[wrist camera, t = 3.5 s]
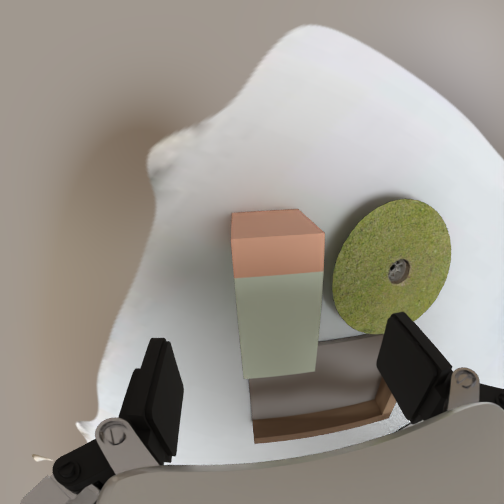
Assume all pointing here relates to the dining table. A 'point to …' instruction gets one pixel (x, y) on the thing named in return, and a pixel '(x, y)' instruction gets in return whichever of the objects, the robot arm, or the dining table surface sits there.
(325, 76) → the dining table surface
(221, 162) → the dining table surface
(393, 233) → the green flat disc
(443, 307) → the dining table surface
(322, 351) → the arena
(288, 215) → the peach green box
